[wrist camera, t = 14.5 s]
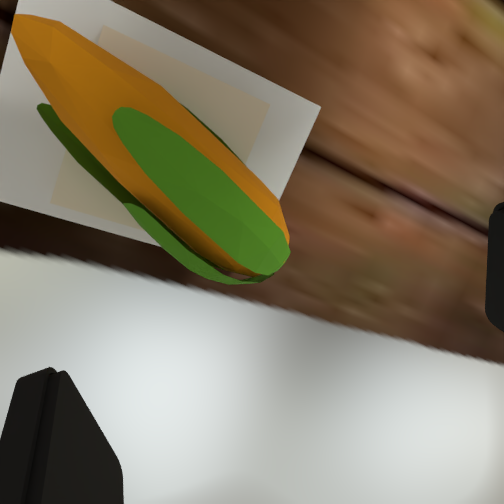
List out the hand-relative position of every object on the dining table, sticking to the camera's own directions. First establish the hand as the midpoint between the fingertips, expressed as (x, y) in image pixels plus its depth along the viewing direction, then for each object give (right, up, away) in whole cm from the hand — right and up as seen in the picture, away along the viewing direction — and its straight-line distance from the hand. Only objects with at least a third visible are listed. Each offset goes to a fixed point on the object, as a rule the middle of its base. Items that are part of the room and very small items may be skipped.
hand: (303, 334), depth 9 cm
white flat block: (-8, +10, +22) cm, 25 cm away
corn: (-7, +8, +19) cm, 22 cm away
